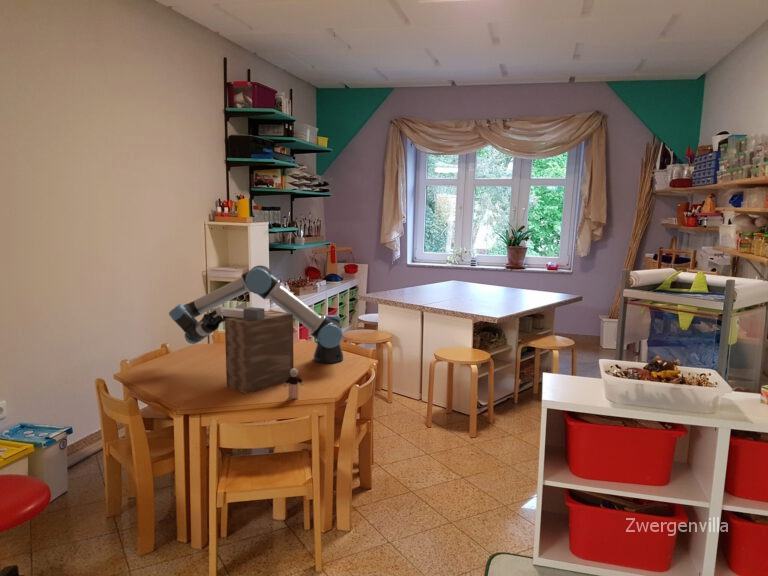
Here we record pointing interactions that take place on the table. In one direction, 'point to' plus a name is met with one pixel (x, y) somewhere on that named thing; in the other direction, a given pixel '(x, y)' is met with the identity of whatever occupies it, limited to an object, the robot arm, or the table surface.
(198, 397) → the table surface
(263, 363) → the walnut shelf
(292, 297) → the robot arm
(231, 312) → the bar
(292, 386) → the grandmother figurine
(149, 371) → the table surface
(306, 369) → the table surface
